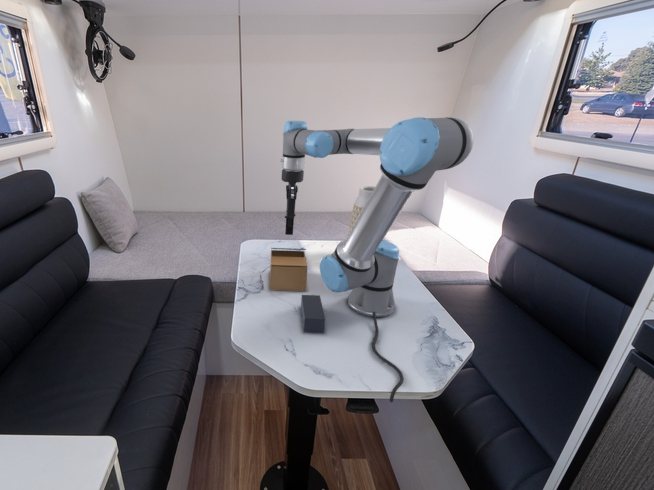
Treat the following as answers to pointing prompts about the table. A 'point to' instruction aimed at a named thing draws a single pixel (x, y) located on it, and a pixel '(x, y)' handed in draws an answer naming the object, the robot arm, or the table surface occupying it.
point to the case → (312, 314)
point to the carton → (288, 270)
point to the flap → (288, 248)
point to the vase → (360, 204)
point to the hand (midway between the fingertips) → (289, 234)
